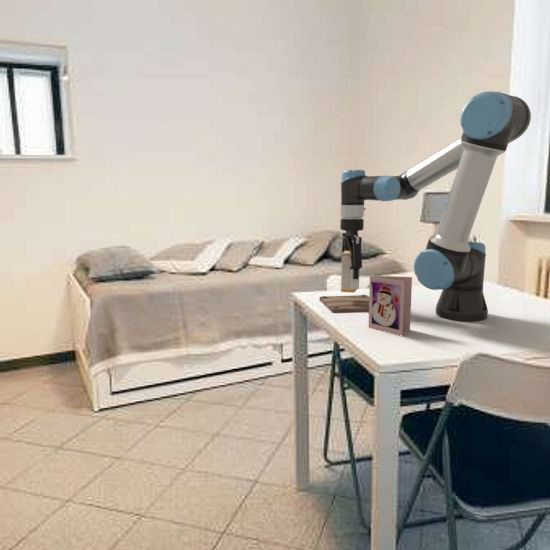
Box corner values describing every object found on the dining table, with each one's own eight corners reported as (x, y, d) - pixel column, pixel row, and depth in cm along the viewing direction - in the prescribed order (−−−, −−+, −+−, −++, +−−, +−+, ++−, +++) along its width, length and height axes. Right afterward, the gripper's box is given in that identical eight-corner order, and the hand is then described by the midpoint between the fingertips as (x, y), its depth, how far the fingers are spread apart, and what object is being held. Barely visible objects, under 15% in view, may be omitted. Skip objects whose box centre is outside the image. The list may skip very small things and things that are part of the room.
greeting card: (366, 328, 150) (367, 276, 147) (382, 323, 155) (384, 272, 152) (400, 336, 141) (402, 281, 139) (416, 331, 146) (418, 278, 144)
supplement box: (355, 293, 172) (356, 253, 169) (340, 292, 173) (341, 252, 171) (359, 288, 180) (360, 249, 177) (345, 287, 181) (346, 249, 179)
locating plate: (383, 310, 170) (383, 305, 169) (332, 312, 167) (332, 307, 167) (366, 298, 187) (366, 294, 187) (319, 300, 185) (319, 295, 185)
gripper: (374, 220, 162) (371, 292, 166) (353, 215, 183) (352, 279, 187) (350, 220, 161) (348, 292, 165) (332, 215, 182) (331, 279, 186)
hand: (350, 285), depth 176 cm, fingers closed on supplement box, 9 cm apart
